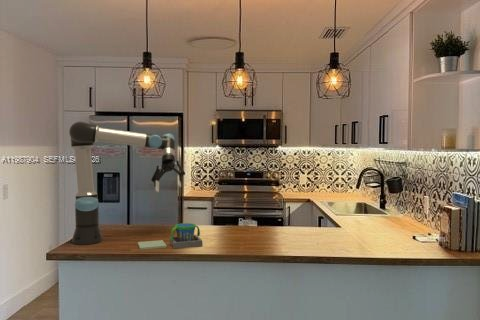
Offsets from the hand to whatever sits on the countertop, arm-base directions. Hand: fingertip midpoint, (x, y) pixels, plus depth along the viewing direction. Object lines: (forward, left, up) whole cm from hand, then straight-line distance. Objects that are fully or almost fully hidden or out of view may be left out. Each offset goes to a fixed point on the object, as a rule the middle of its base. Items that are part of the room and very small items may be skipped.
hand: (168, 188), depth 230 cm
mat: (-11, -17, -27) cm, 34 cm away
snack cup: (+6, -20, -28) cm, 34 cm away
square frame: (+6, -20, -27) cm, 34 cm away
